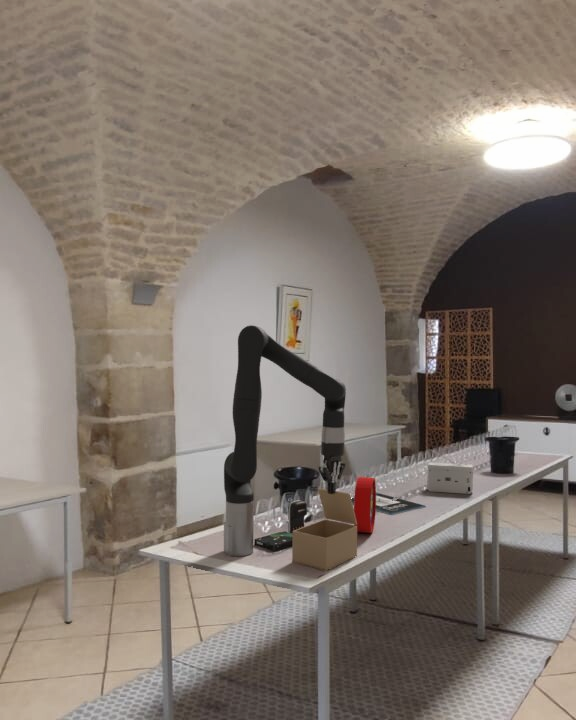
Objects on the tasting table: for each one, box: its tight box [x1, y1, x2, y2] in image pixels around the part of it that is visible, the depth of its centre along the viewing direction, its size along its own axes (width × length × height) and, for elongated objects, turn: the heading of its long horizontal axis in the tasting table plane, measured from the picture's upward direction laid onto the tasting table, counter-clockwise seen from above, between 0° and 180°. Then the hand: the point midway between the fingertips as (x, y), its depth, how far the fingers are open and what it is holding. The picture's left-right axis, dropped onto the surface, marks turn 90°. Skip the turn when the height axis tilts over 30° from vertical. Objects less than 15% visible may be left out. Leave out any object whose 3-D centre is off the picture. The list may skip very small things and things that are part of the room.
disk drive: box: [253, 530, 293, 552], centre depth 231 cm, size 10×3×15 cm
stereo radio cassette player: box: [427, 449, 474, 495], centre depth 315 cm, size 21×8×20 cm, turn 75°
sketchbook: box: [351, 492, 427, 516], centre depth 290 cm, size 22×30×2 cm
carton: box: [291, 518, 358, 572], centre depth 215 cm, size 18×13×10 cm
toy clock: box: [353, 476, 377, 534], centre depth 247 cm, size 20×6×20 cm, turn 167°
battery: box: [287, 499, 308, 534], centre depth 245 cm, size 7×4×11 cm, turn 134°
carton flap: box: [317, 487, 357, 525], centre depth 221 cm, size 12×12×1 cm
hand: (331, 493), depth 217 cm, fingers closed
